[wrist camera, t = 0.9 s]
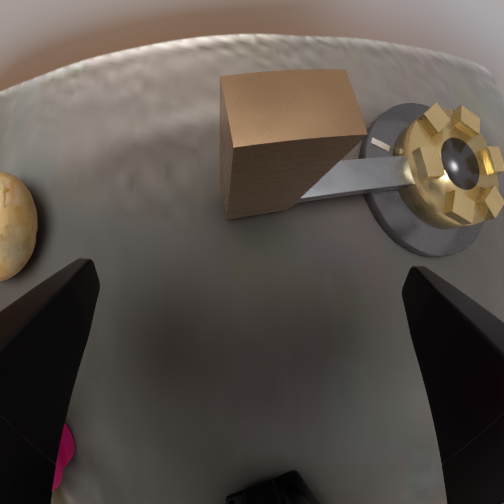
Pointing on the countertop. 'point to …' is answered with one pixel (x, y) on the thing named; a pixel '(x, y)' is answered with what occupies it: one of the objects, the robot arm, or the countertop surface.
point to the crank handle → (346, 151)
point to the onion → (15, 225)
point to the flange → (392, 203)
